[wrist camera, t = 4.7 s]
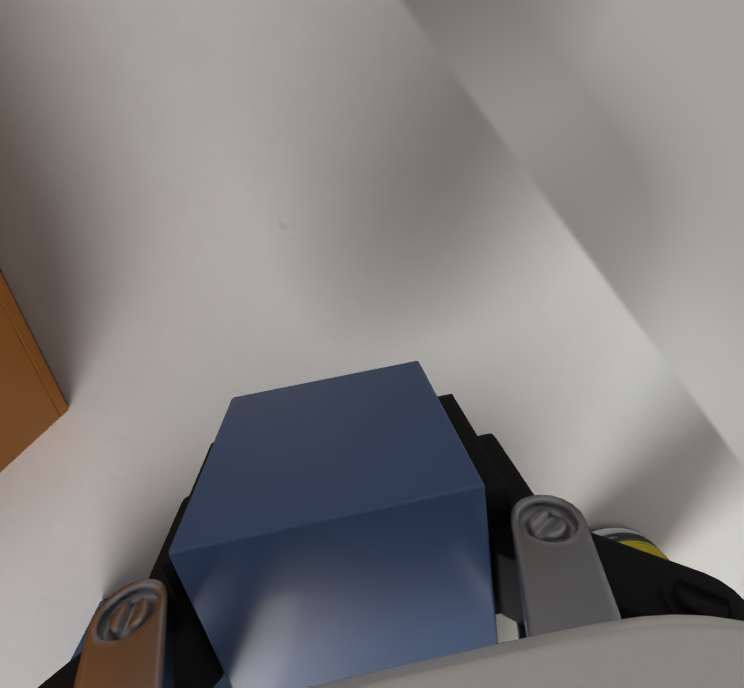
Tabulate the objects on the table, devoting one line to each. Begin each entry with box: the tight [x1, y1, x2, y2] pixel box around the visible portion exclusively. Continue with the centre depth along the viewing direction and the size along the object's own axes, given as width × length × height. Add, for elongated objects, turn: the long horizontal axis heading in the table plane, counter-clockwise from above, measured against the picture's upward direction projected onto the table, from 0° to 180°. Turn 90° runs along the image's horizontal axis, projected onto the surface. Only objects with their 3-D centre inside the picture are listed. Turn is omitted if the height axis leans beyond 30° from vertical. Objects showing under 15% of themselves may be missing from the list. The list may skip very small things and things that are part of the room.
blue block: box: [169, 361, 498, 688], centre depth 10 cm, size 5×5×5 cm
